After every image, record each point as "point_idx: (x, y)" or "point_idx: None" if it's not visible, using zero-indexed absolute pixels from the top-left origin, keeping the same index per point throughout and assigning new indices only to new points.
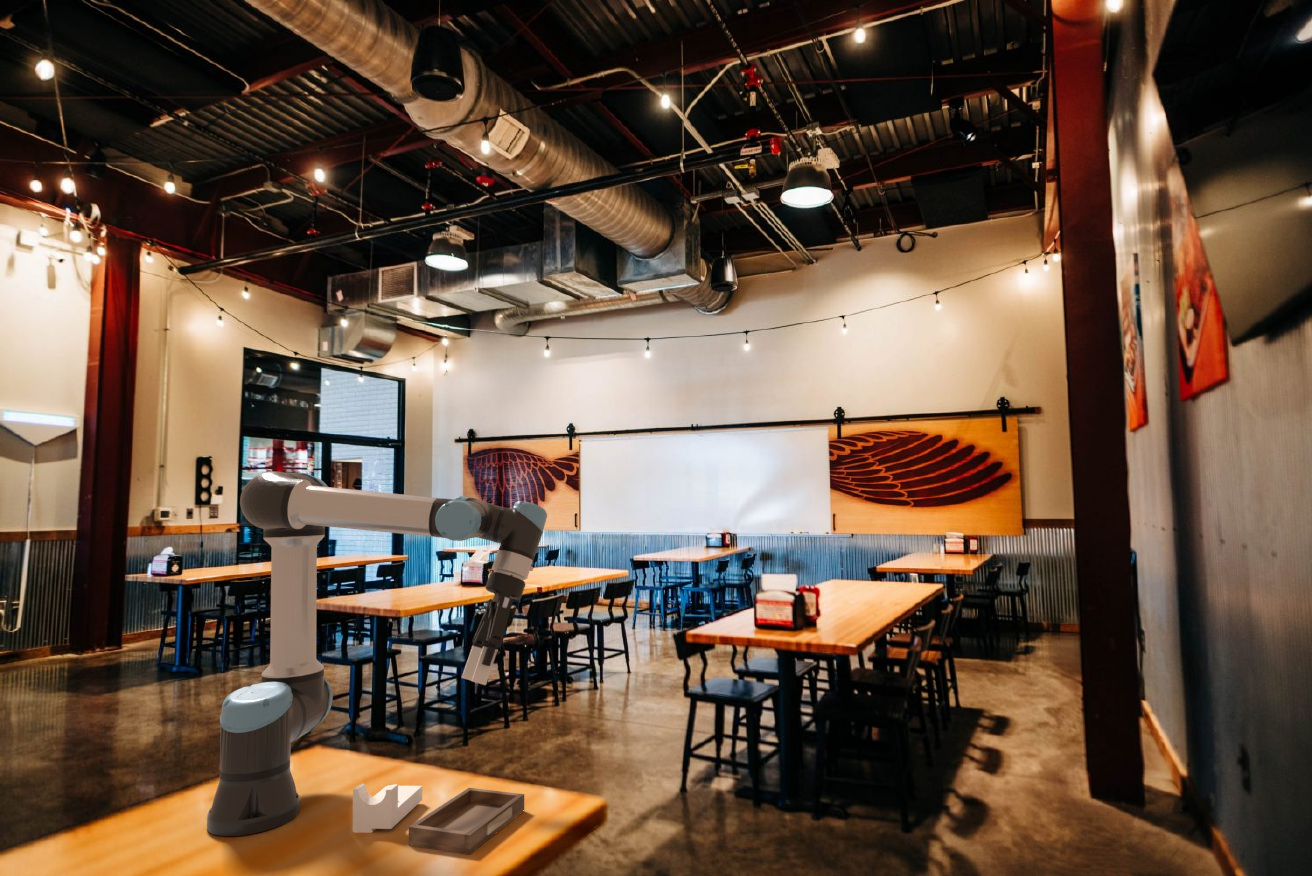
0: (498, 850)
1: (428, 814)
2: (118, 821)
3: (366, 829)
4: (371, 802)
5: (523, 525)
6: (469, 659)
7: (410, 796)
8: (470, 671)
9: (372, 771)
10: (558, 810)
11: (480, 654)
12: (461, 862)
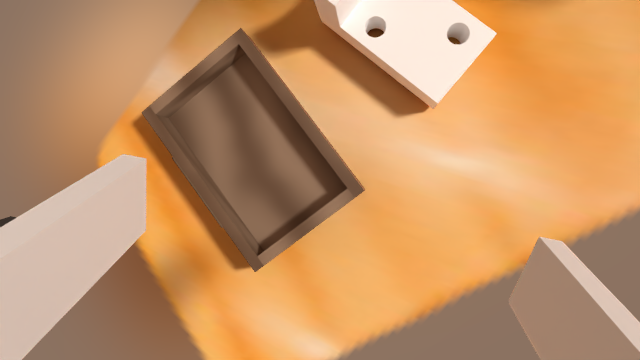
0: (147, 161)
1: (273, 74)
2: None
3: None
4: None
5: None
6: (610, 329)
7: (388, 64)
8: (548, 300)
9: None
10: (230, 317)
11: (23, 241)
12: (144, 98)
